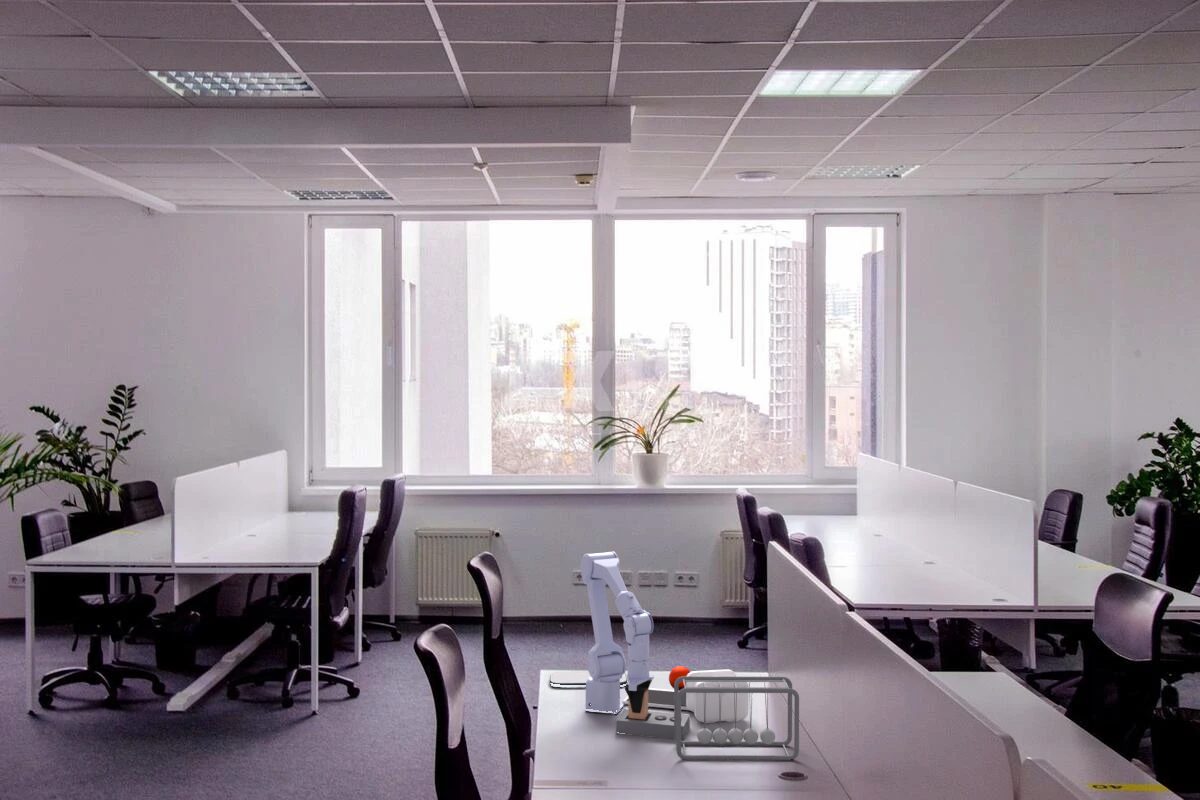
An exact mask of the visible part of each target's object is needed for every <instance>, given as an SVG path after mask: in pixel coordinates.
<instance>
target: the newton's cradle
mask: <svg viewBox="0 0 1200 800" xmlns="http://www.w3.org/2000/svg"><path fill="white" fill-rule="evenodd" d="M681 681H683V683H684V687H685V688H683V689H681V690H680V691H679V683H680V682H681ZM685 682H734V687H721V685H720V687H686V684H685ZM735 682H747V683H748V685H749V687H735V685H736V684H735ZM751 683H763V684H764V685H765V686H764V687H763V686H762V687H758V686H757V687H754V686H753V685H752V684H751ZM767 683H784V685H785V687H783V686H782V687H780V686H779V687H771V686H770V687H768V686H767ZM719 684H720V683H719ZM704 685H705V683H704ZM673 690H674V709H673V713H674V739H673V740H674V742H675V743H676V746H675V747H676V754H677V756H678V758H680V759H681V760H683V761H790V760H789V759H794V760H795V759H797V757H798V756H799V753H800V694H799V693H798V691H796V689H794V688H793V682H792V681H791V679H790V678H788V677H786V676H736V677H698V676H683V677H679V678H678V679H677V680H676V681H675V683H674V688H673ZM684 693H705V703H704V723H703V728H699V730H698V732H697V735H696V737H697V740H695V741H693V740H691V741H690V740H688V741H686V740H681V714H682V709H681V696H682V694H684ZM706 693H719V721H718V723H719V727H718V728H715V730H714V731H713V732H712V731H711V730H710V729H709V728H706V723H705V712H706ZM720 693H734V709H735V693H736V706H737V693H749V698H751V694H764V699H765V701H764V702H765V703H766V708H765V717H766V727H765V728H764V729H762V730H761V731H760V734H758V731H757V730H756V729H754V728H752V716H753V715H752V714H753V699H750V712H749V722H750V723H749V726H750V727H749V728H746V729H745V730H744V731H743V732H742V730H741V729H739V728H737V721H736V719H735V721H734V728H731V729H730V730H729V731H728V733H727V731H726V730H725V729H723V728H721V726H722V724H721V722H722V721H721V702H720ZM769 694H787V739H786V740H783V741H775V739H776V734H775V732H774V730H773V729H771V728H769ZM793 697H794V698H793ZM793 699H794V712H793ZM793 713H794V718H793ZM793 719H794V723H793ZM793 725H794V732H793ZM793 733H794V735H793ZM759 737H760V741H759ZM793 737H794V738H793ZM793 739H794V741H793ZM712 740H713V741H712ZM727 740H729V741H727ZM743 740H744V741H743ZM792 741H793V742H794V744H793V746H794V751H793V753H792V754H791V755H790V754H789V752H788V750H787V748H786V746H788V745H790V743H791V742H792ZM686 747H783V749H784V752H785V753H786V755H733V754H732V755H725V754H723V755H719V754H718V755H715V754H712V755H711V754H710V755H702V754H701V755H699V754H697V755H696V754H695V755H693V754H689V755H688V754H687V750H686ZM682 748H683V752H682ZM683 753H684V754H683Z"/></svg>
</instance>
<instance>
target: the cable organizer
mask: <svg viewBox="0 0 1200 800" xmlns="http://www.w3.org/2000/svg"><path fill="white" fill-rule="evenodd" d="M687 676H698V677H737V674H736V673H735V671H733V670H732V669H729V668H727V669H711V670H710V669H709V670H693V671H690V673H689V674H688V675H687ZM704 683H705V685H704ZM719 683H720V684H719ZM735 684H736V685H735V687H749V682H735ZM720 685H721V687H734V682H686V687H720ZM720 702H721V722H727V723H731V722H735V719H736V722H738V721H741V720H745V719H746V718H747V717H748V716H749V714H750V697H749V693H737V706H736V693H735V709H734V693H720ZM704 703H705V693H686V706H687V708H688V709H689V710H688V711H691V712H693V713H694V717H695V718H696V720H697V721H699V722H701V723H703V724H704ZM716 722H719V693H706V712H705V724H713V723H716Z"/></svg>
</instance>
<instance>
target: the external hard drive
mask: <svg viewBox="0 0 1200 800" xmlns="http://www.w3.org/2000/svg"><path fill="white" fill-rule="evenodd" d="M588 677H591V676H590V674H589V671H559V672H558V671H556V672H553V673H551V674H550V676H549V684H550V683H553V684H560V685H586V682H587V679H588ZM626 683H627V684H628V679H627V674H626V672H625V673H624V674H623V675H622V678H620V685H623V684H626Z"/></svg>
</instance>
